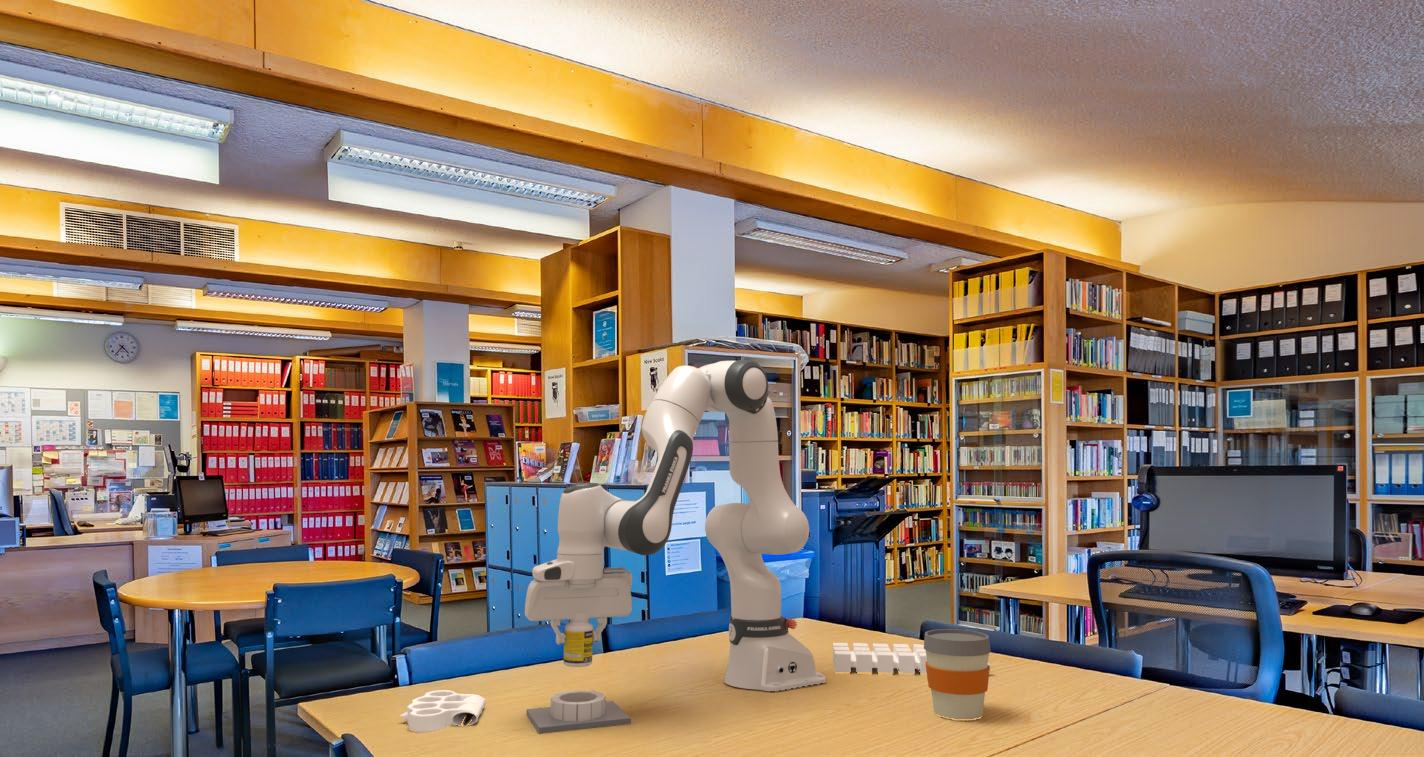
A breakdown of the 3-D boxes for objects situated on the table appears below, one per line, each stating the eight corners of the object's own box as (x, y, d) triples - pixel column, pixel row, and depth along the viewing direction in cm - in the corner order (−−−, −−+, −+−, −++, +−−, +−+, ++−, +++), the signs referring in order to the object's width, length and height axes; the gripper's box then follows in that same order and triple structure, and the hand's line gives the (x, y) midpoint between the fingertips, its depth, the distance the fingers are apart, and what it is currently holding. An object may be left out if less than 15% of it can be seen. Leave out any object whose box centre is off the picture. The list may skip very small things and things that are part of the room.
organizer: (832, 642, 219) (979, 645, 216) (833, 662, 219) (980, 666, 216) (835, 654, 206) (991, 657, 203) (835, 675, 206) (991, 679, 203)
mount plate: (612, 705, 178) (613, 685, 179) (631, 723, 166) (631, 701, 167) (526, 714, 172) (527, 693, 173) (539, 733, 160) (539, 710, 161)
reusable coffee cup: (993, 709, 177) (991, 631, 178) (991, 726, 165) (989, 643, 166) (928, 703, 181) (926, 627, 182) (921, 720, 169) (919, 638, 170)
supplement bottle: (586, 668, 167) (587, 614, 168) (559, 666, 168) (560, 613, 169) (596, 662, 172) (597, 610, 173) (569, 661, 173) (570, 609, 174)
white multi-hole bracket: (474, 733, 162) (390, 735, 160) (487, 706, 180) (412, 708, 178) (474, 714, 162) (390, 716, 161) (487, 688, 180) (412, 690, 178)
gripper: (627, 565, 179) (626, 636, 177) (524, 568, 171) (522, 642, 170) (637, 568, 173) (635, 642, 171) (530, 572, 165) (527, 649, 164)
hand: (578, 642), depth 171 cm, fingers closed on supplement bottle, 5 cm apart
